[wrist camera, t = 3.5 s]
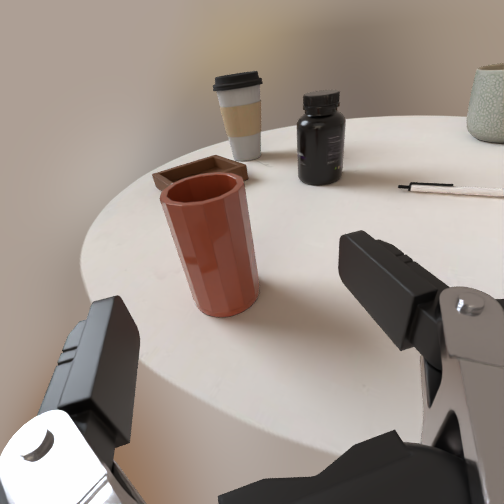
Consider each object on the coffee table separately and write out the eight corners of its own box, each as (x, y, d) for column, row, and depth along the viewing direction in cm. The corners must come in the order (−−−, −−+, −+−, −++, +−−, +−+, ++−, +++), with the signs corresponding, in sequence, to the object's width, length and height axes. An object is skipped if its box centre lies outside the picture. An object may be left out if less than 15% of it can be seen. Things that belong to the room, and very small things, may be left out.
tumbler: (214, 329, 22) (179, 215, 16) (184, 291, 26) (148, 189, 20) (273, 294, 24) (260, 183, 18) (237, 264, 28) (217, 167, 23)
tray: (179, 204, 43) (174, 189, 42) (156, 187, 51) (151, 174, 50) (248, 179, 48) (246, 164, 47) (217, 167, 56) (215, 154, 55)
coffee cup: (260, 147, 64) (252, 70, 56) (276, 157, 57) (269, 69, 48) (221, 156, 63) (206, 78, 54) (231, 167, 55) (216, 78, 47)
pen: (398, 188, 38) (399, 180, 37) (601, 200, 29) (607, 190, 29) (397, 191, 37) (398, 183, 36) (605, 204, 29) (611, 193, 28)
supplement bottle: (289, 181, 45) (284, 97, 38) (315, 168, 49) (315, 89, 42) (325, 189, 41) (327, 96, 34) (351, 174, 44) (357, 87, 37)
